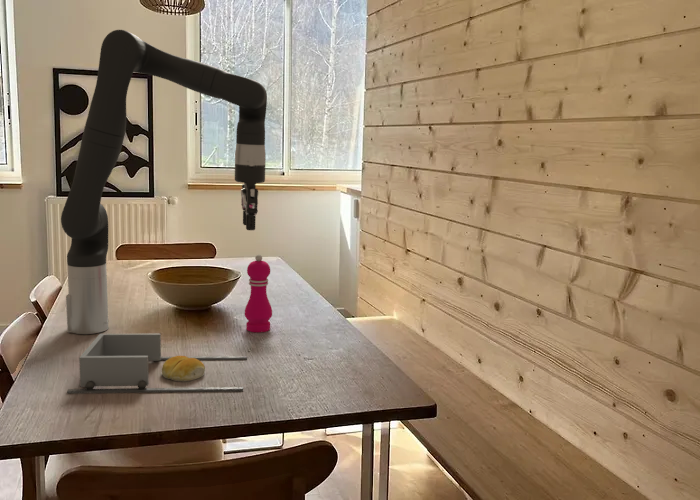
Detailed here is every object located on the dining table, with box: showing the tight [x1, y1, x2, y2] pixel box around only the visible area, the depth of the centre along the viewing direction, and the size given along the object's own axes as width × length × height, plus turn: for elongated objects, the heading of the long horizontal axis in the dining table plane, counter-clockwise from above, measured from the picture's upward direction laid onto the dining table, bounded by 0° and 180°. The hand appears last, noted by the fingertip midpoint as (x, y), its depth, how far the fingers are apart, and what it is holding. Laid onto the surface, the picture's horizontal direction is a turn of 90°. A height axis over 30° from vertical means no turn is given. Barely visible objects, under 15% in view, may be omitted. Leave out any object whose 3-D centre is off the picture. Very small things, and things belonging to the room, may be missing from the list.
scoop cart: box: [78, 332, 162, 389], centre depth 141 cm, size 13×18×6 cm
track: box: [66, 355, 248, 394], centre depth 143 cm, size 34×20×1 cm, turn 96°
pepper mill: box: [244, 254, 273, 333], centre depth 176 cm, size 7×7×20 cm
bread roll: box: [161, 355, 206, 382], centre depth 143 cm, size 8×9×4 cm
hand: (248, 227), depth 170 cm, fingers open, 8 cm apart
